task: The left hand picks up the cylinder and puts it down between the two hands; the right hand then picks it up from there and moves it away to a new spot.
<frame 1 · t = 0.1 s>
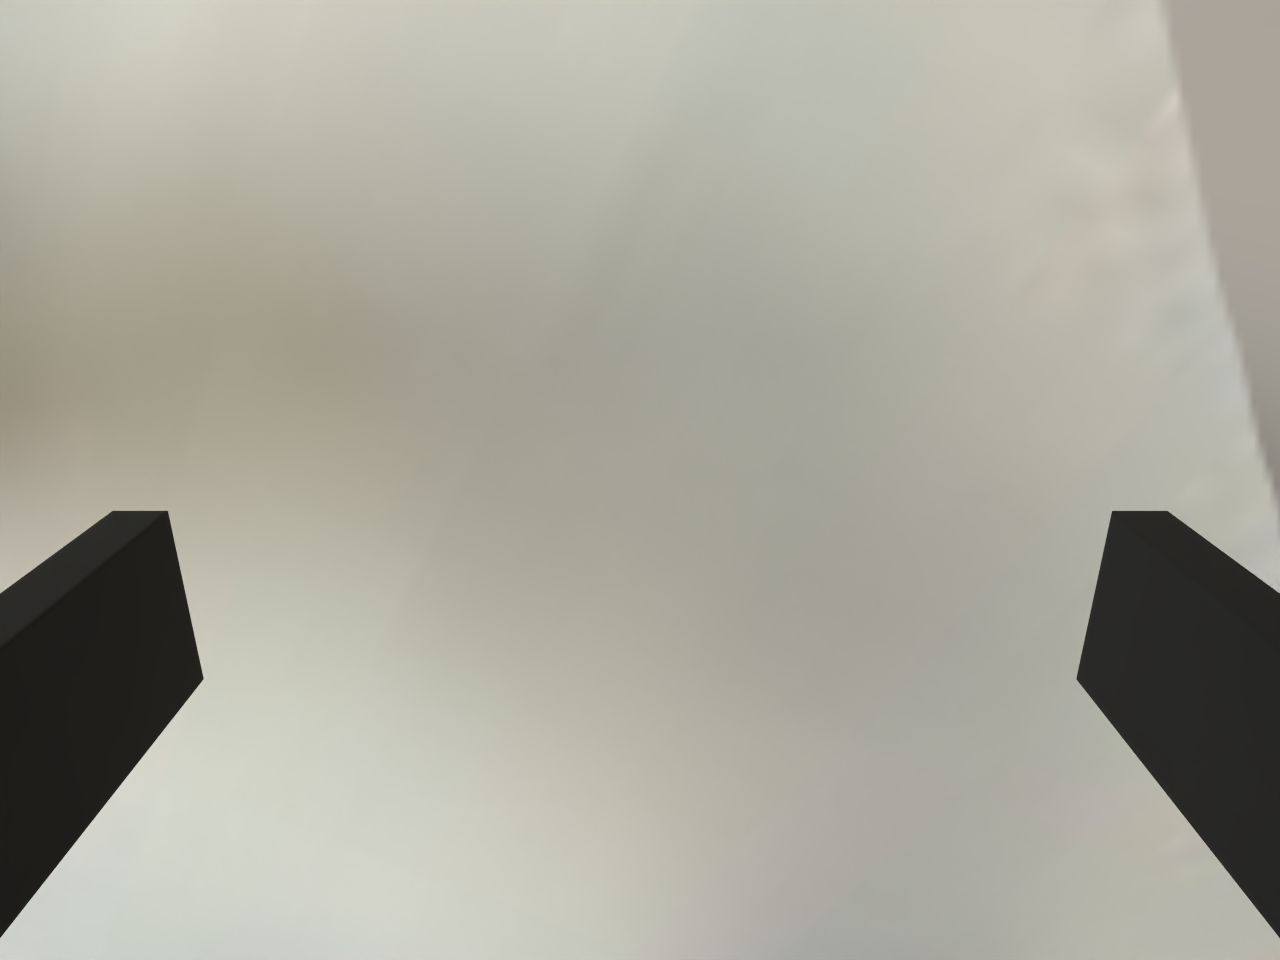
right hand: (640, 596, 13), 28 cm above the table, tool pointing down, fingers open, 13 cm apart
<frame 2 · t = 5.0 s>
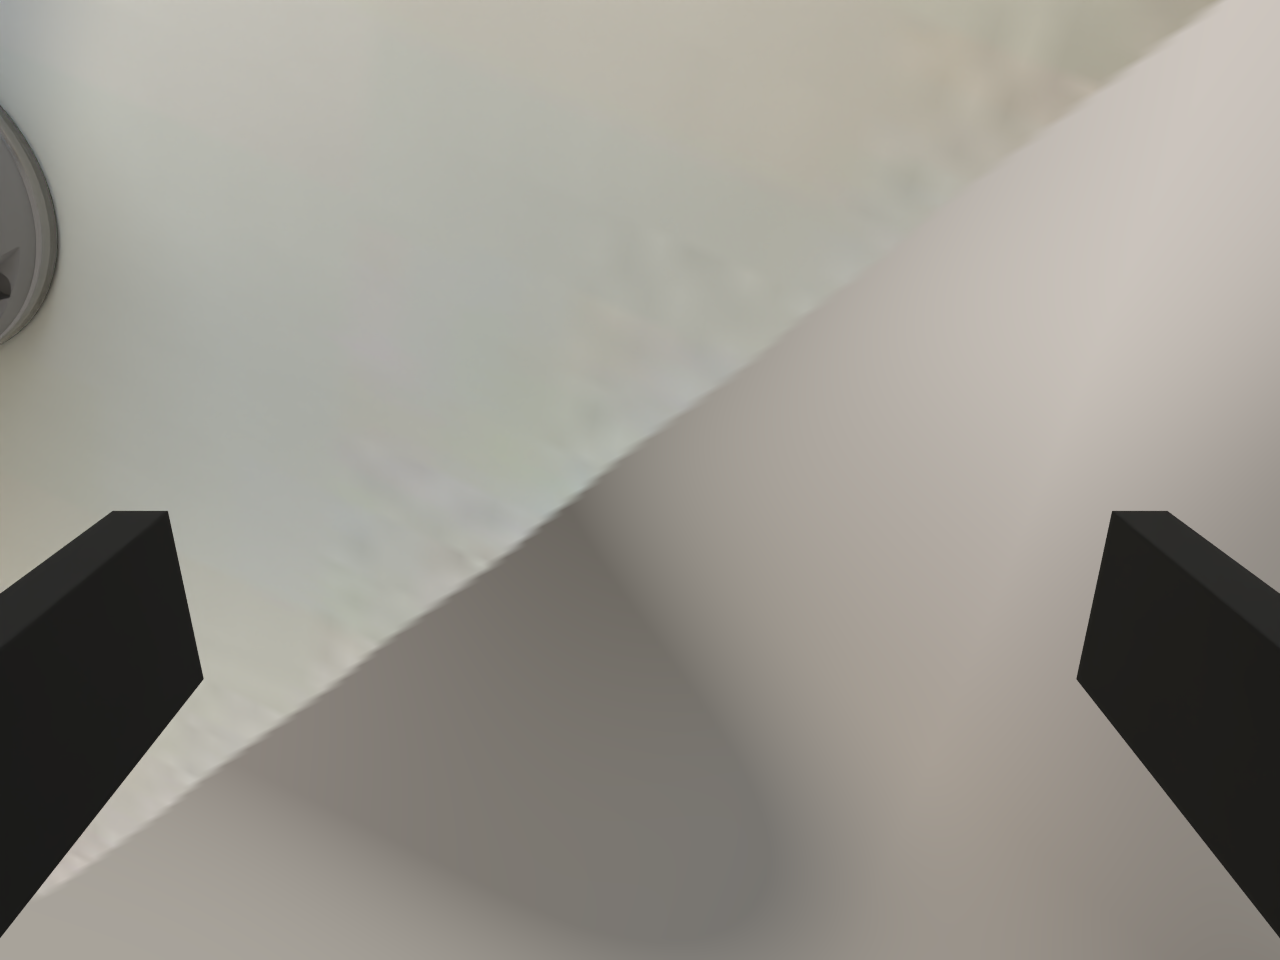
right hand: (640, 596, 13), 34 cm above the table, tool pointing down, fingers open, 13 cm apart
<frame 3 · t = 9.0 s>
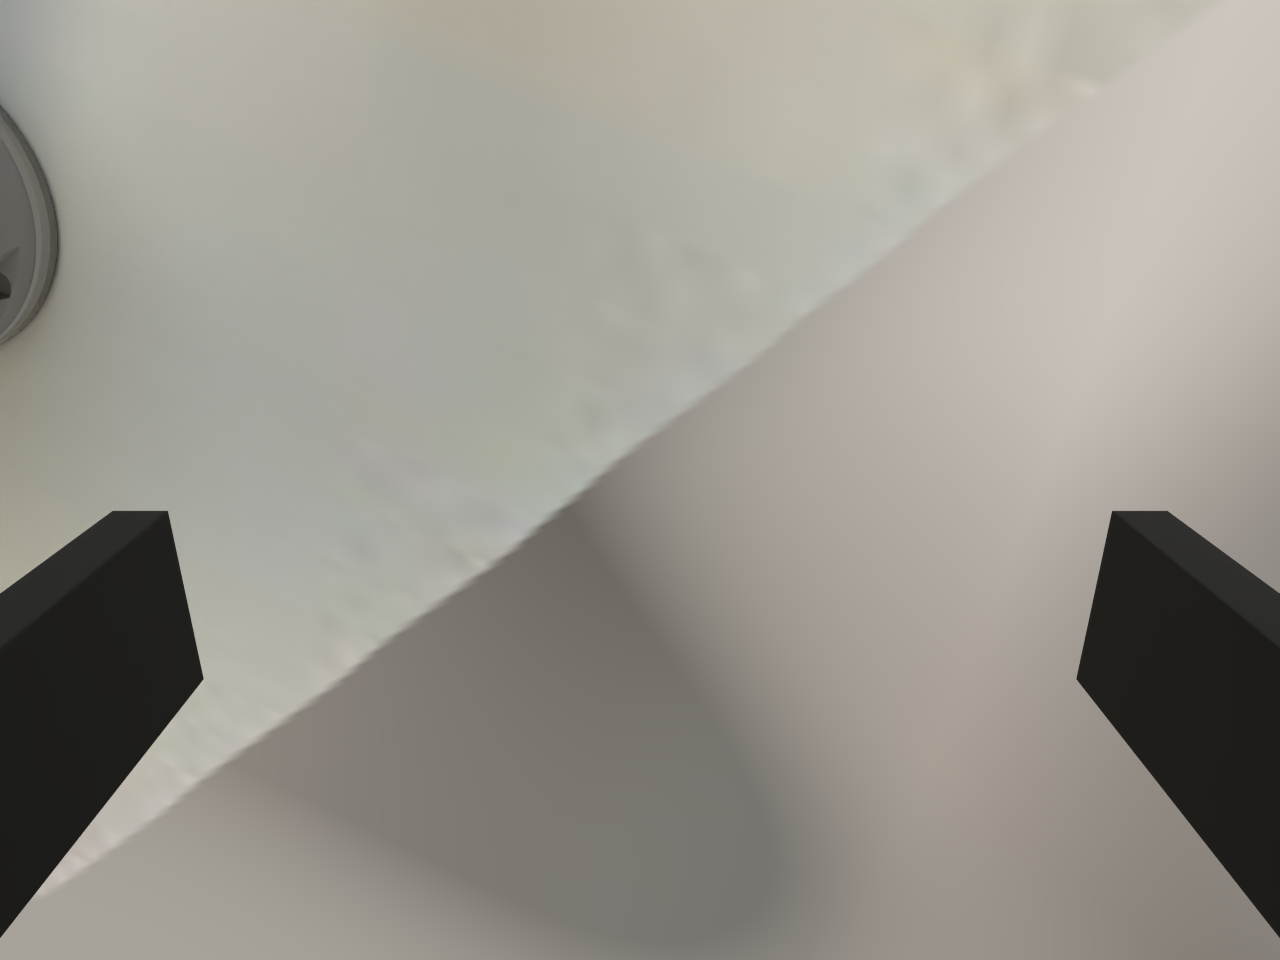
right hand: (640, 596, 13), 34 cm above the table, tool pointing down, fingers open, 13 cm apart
when the left hand's fingers open (3 cm above the table, at t = 13.0 s): cylinder drops 2 cm, on the table.
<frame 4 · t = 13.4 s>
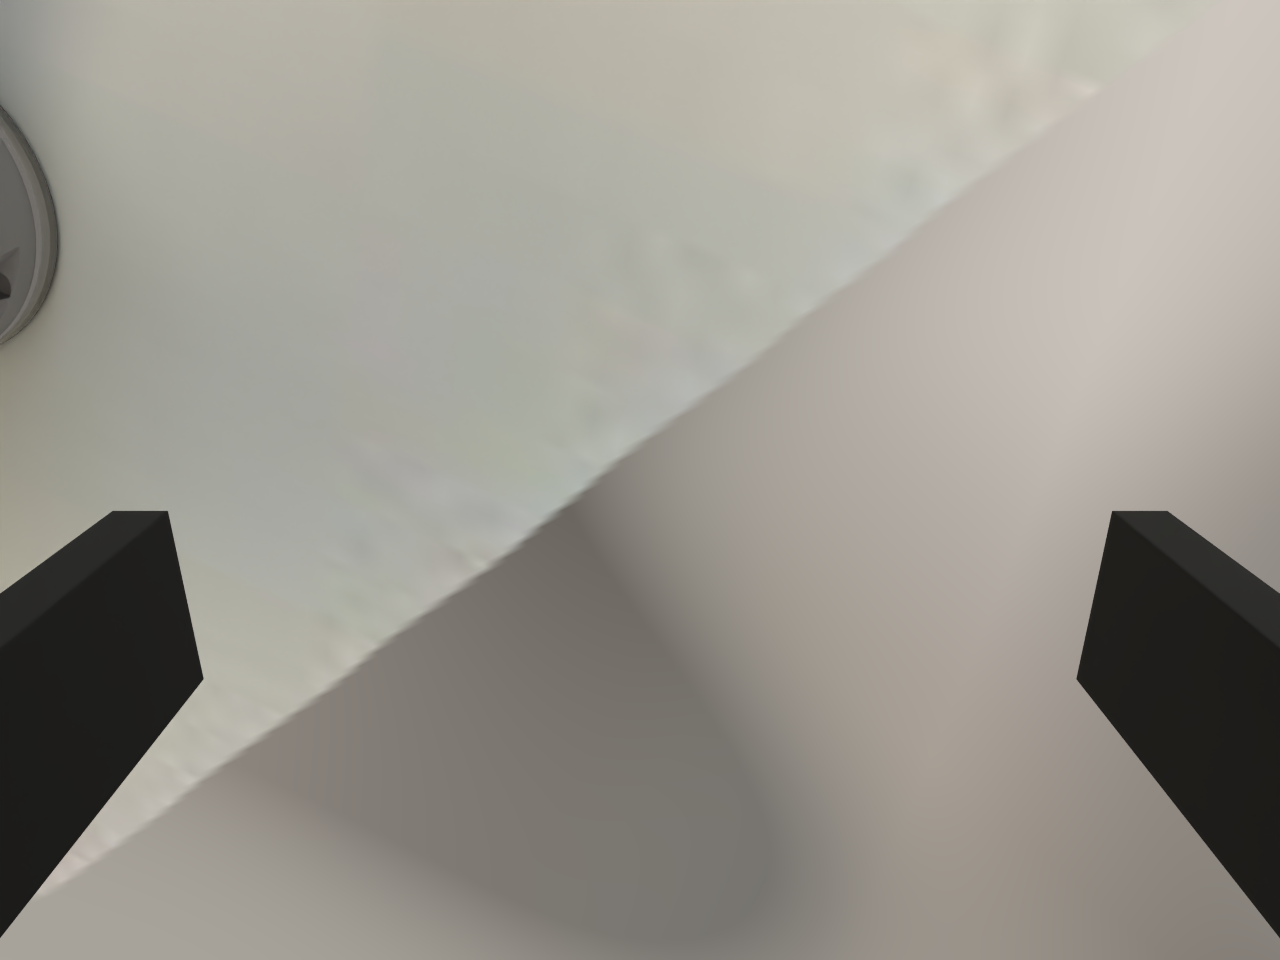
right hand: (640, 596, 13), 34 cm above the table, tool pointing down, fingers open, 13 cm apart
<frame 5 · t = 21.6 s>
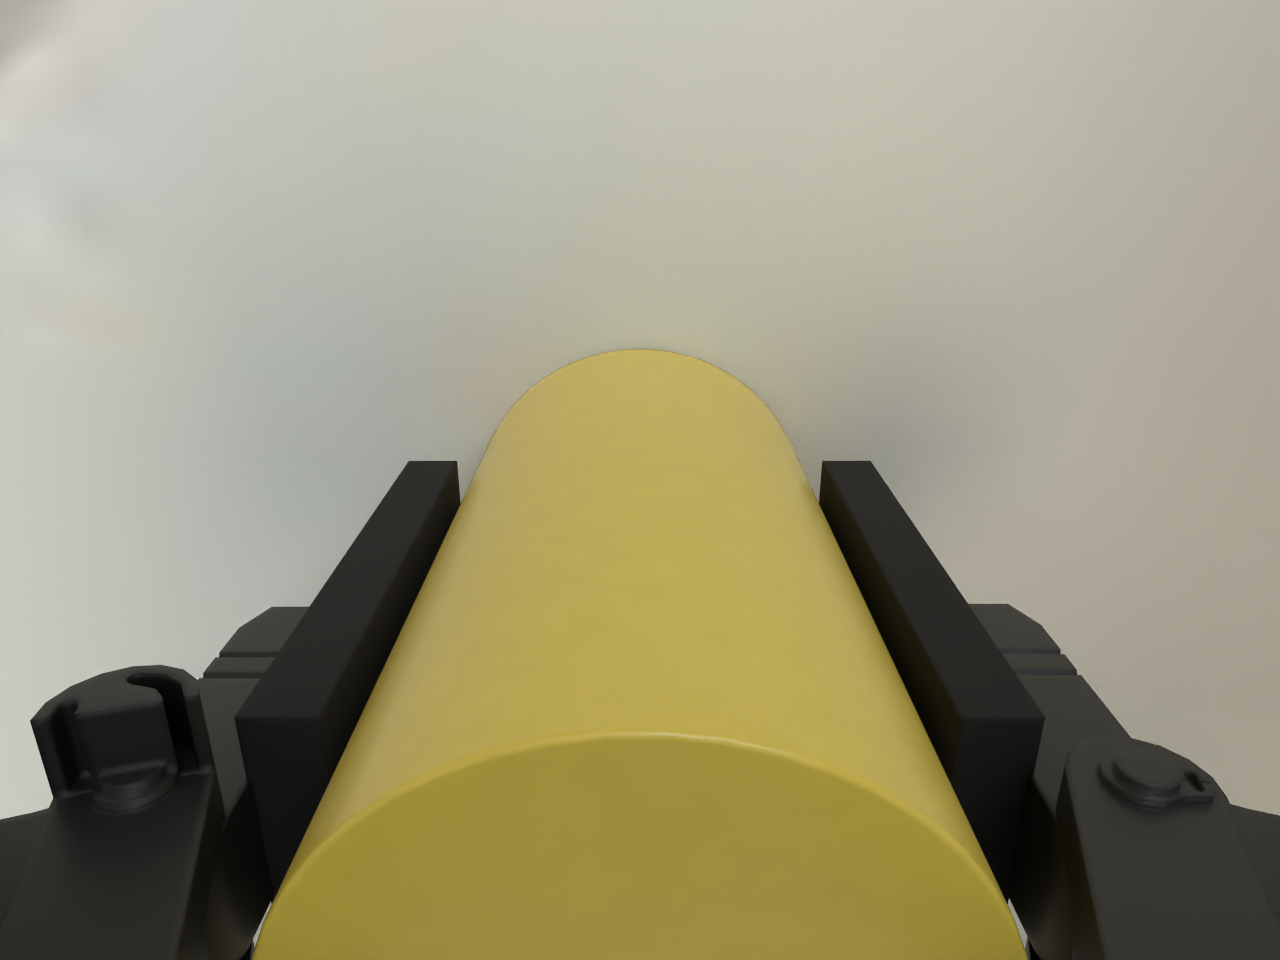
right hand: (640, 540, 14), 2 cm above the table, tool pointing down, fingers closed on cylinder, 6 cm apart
cylinder: (639, 506, 16), on the table, touching right hand
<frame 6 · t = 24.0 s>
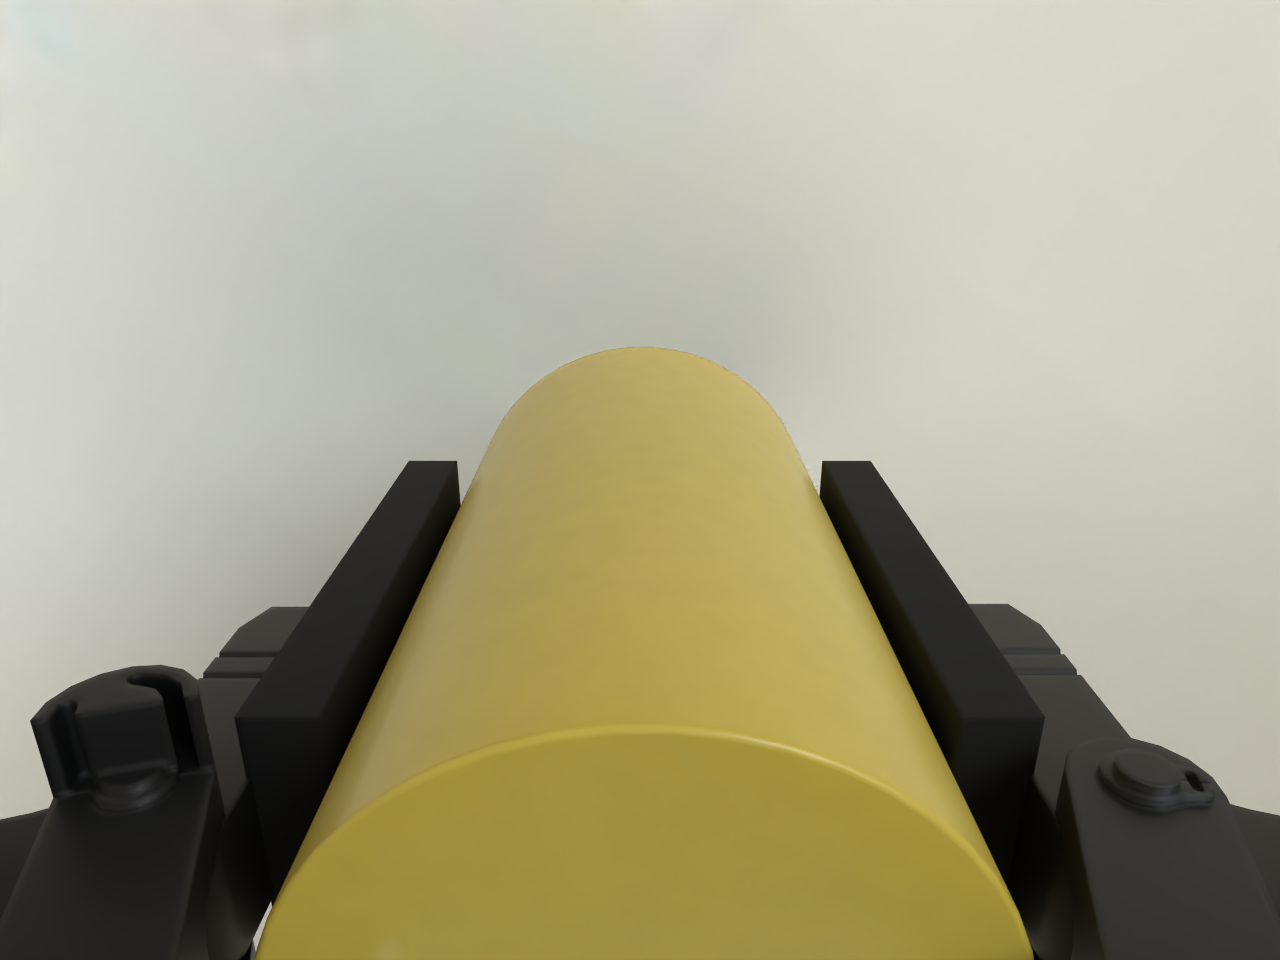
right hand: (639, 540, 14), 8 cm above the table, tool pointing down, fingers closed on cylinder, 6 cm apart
cylinder: (641, 504, 16), point 6 cm above the table, touching right hand
when the right hand's fingers open (3 cm above the table, at t = 26.7 s): cylinder drops 2 cm, on the table.
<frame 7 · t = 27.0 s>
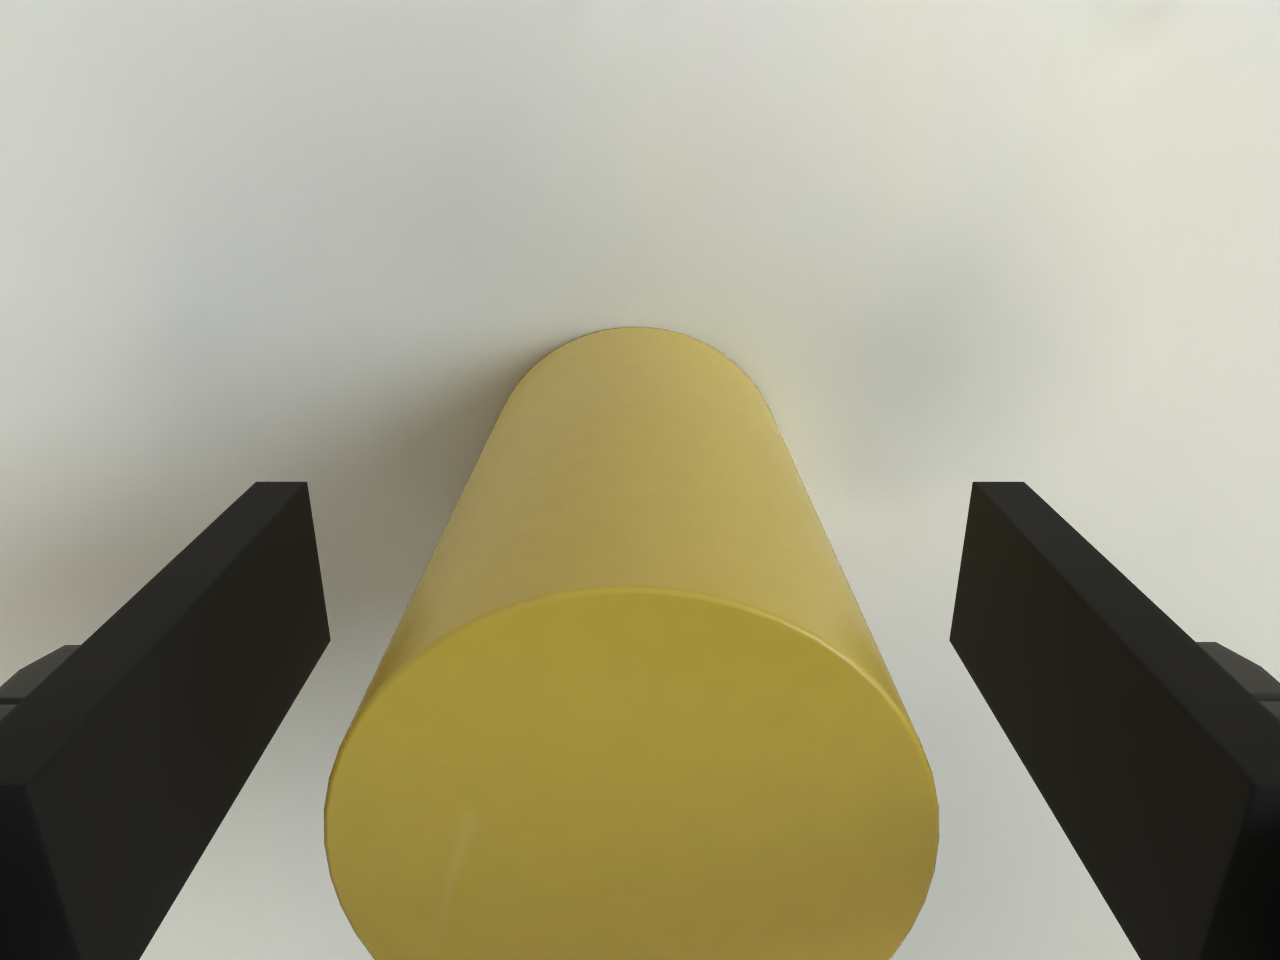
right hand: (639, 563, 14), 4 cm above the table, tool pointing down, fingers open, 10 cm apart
cylinder: (636, 469, 18), on the table
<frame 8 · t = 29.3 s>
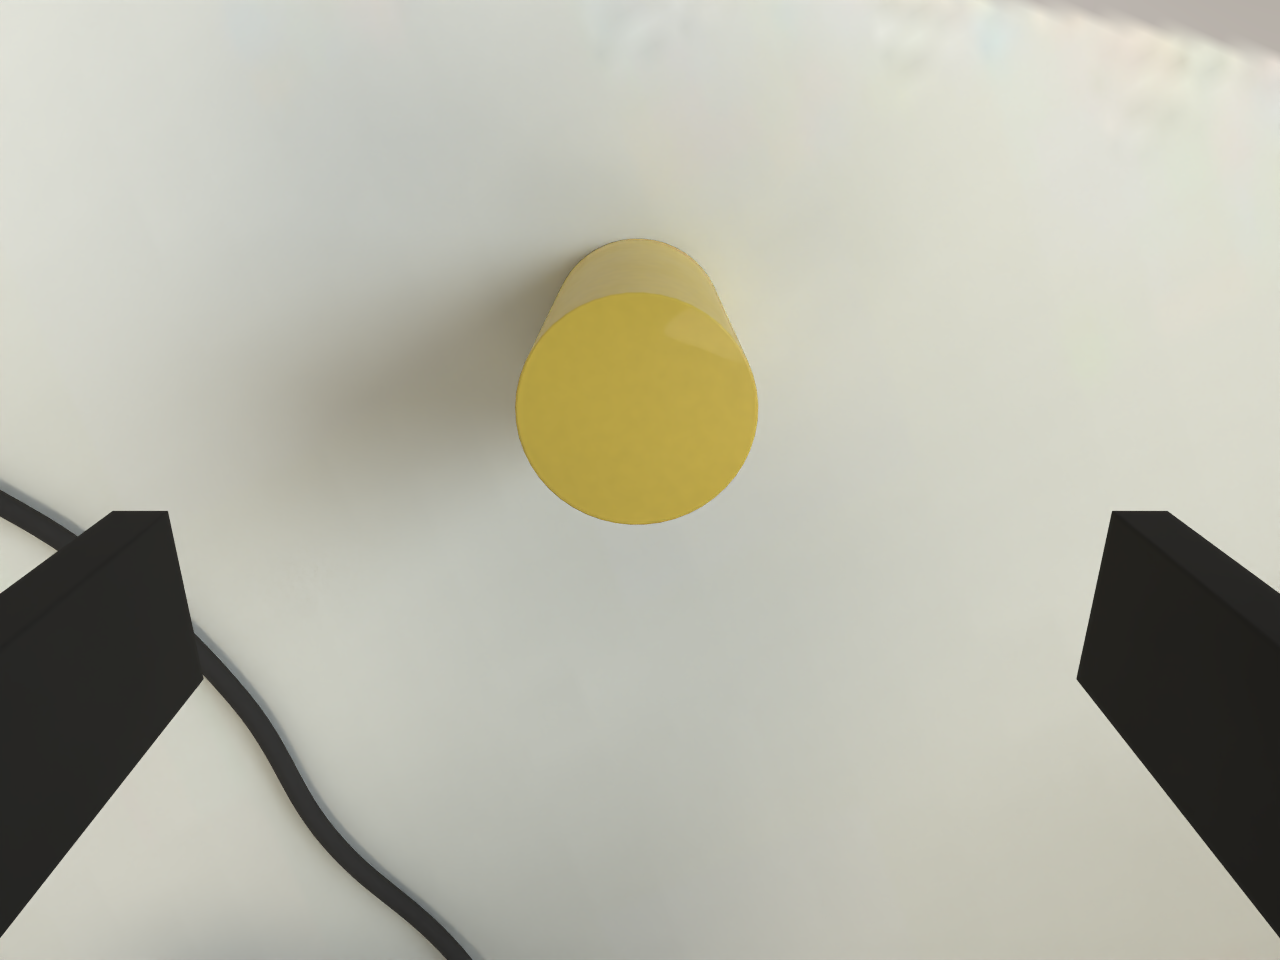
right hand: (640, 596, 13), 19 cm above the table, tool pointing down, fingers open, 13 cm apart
cylinder: (637, 325, 30), on the table
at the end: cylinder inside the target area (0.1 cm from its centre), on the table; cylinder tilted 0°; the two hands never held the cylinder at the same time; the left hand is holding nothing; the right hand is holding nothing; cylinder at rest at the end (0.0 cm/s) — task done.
